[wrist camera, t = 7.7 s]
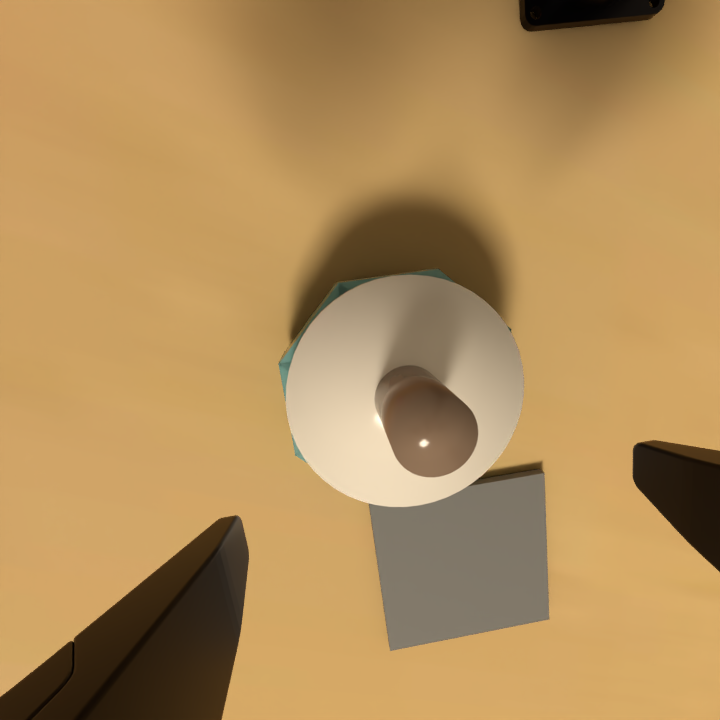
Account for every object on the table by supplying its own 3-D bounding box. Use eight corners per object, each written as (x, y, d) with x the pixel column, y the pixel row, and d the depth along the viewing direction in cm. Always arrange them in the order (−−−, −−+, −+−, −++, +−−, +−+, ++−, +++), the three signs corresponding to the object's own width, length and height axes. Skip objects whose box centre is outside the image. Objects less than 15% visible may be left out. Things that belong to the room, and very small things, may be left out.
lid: (510, 260, 16) (585, 253, 12) (519, 477, 18) (586, 546, 14) (268, 292, 16) (244, 298, 11) (307, 513, 18) (301, 598, 13)
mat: (539, 468, 22) (544, 473, 22) (544, 612, 25) (549, 619, 24) (368, 498, 22) (369, 503, 21) (388, 643, 24) (390, 650, 24)
